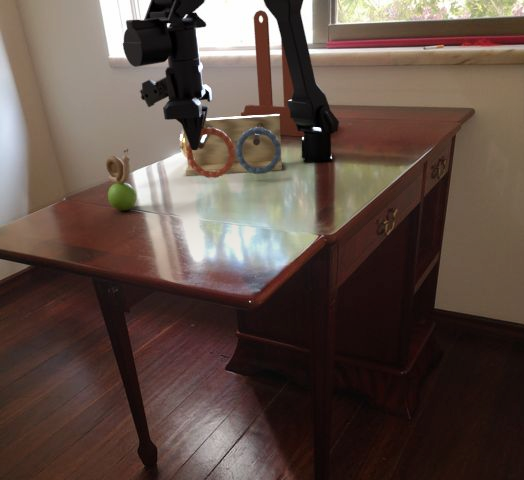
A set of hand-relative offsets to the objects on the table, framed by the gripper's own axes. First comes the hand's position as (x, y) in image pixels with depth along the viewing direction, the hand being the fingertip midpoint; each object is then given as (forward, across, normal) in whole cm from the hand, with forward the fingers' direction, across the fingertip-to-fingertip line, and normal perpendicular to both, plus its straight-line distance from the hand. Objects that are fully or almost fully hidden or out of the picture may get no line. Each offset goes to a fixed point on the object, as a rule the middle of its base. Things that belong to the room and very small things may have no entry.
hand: (195, 149), depth 108 cm
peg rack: (+10, -15, +5) cm, 18 cm away
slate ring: (+4, -10, +12) cm, 16 cm away
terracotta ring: (+1, 0, +3) cm, 3 cm away
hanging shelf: (+10, -58, +17) cm, 62 cm away
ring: (+10, -31, -7) cm, 33 cm away
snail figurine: (+10, +5, -14) cm, 18 cm away
